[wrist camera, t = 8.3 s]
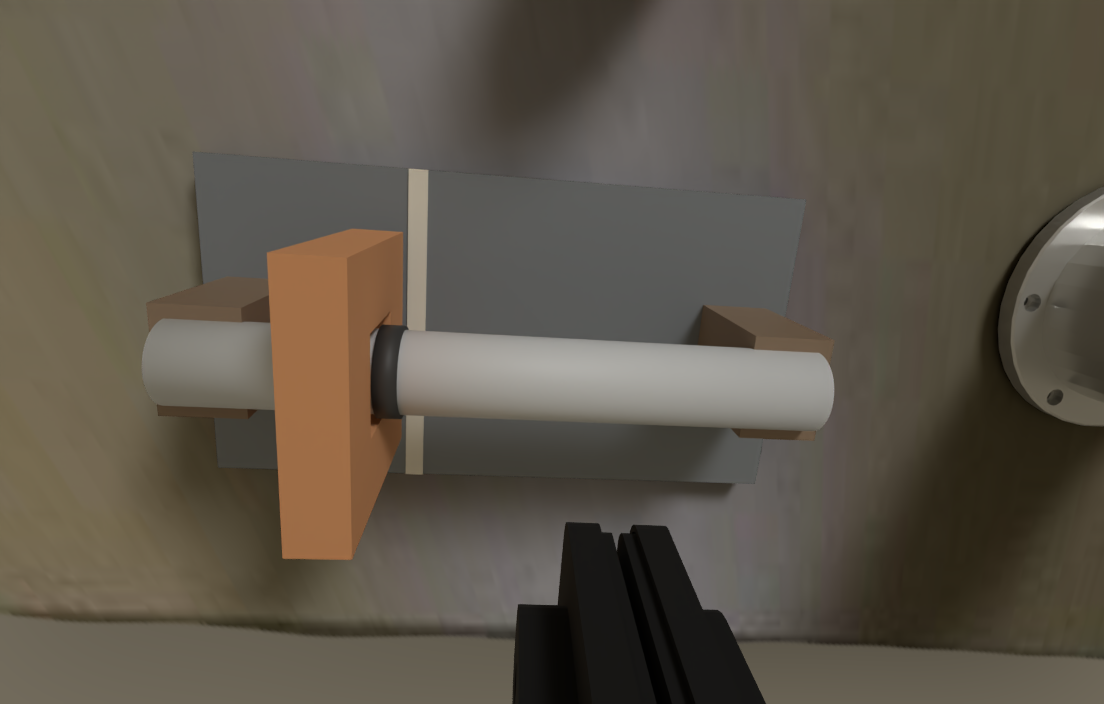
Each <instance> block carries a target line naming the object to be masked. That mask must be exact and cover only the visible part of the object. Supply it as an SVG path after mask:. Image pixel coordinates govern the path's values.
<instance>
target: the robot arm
mask: <svg viewBox="0 0 1104 704" xmlns="http://www.w3.org/2000/svg"><path fill="white" fill-rule="evenodd" d="M998 342H999V352H1000V356H1001V360H1002V363H1003V367H1004V370H1005V372H1006V374H1007V376H1008V378H1009V380H1010V382H1011V383H1012V385H1013V387H1014V388H1015V389H1016V390H1017V391H1018V393H1019V394H1020V395H1021V396H1022V397H1023V398H1024V399H1025V400H1026V401H1027V402H1028V403H1030V404H1031V405H1033V406H1034V407H1036V408H1037V409H1039V410H1040V411H1042V412H1044V413H1047V414H1049V415H1051V416H1054V417H1056V418H1058V419H1060V420H1063V421H1066V422H1070V423H1074V424H1078V425H1082V426H1102V427H1104V187H1102V188H1099V189H1097V190H1095V191H1093V192H1092V193H1090V194H1088V195H1086V196H1084V197H1082V198H1080V199H1078V200H1076V201H1075V202H1074V203H1072V204H1071V205H1070V206H1068V207H1067V208H1066V209H1065V210H1063V211H1062V212H1061V213H1059V214H1058V215H1057V216H1055V217H1054V218H1053V219H1052V220H1051V221H1050V222H1049V223H1048V224H1047V225H1046V226H1045V227H1044V228H1043V229H1042V230H1041V232H1040V233H1039V234H1038V235H1037V236H1036V237H1035V238H1034V240H1033V241H1032V242H1031V244H1030V245H1029V247H1028V248H1027V249H1026V251H1025V252H1024V254H1023V255H1022V256H1021V258H1020V260H1019V262H1018V264H1017V265H1016V267H1015V269H1014V271H1013V273H1012V275H1011V277H1010V279H1009V281H1008V284H1007V288H1006V291H1005V294H1004V297H1003V300H1002V303H1001V308H1000V315H999V323H998ZM513 704H766V703H765V701H764V699H763V697H762V694H761V692H760V690H759V688H758V686H757V684H756V682H755V680H754V678H753V676H752V673H751V671H750V669H749V667H748V665H747V663H746V661H745V659H744V656H743V654H742V652H741V650H740V648H739V646H738V644H737V642H736V639H735V637H734V635H733V633H732V631H731V629H730V627H729V625H728V623H727V620H726V619H725V617H724V616H723V614H722V613H721V612H720V611H718V610H703V609H702V607H701V605H700V602H699V600H698V598H697V595H696V593H695V591H694V588H693V586H692V584H691V581H690V579H689V577H688V574H687V572H686V570H685V567H684V565H683V563H682V560H681V558H680V556H679V553H678V551H677V549H676V546H675V544H674V542H673V539H672V537H671V535H670V532H669V530H668V528H667V527H666V526H652V525H633V526H632V527H631V530H630V534H629V533H621V534H620V536H619V540H618V548H617V551H616V547H615V543H614V539H613V535H612V533H603V532H601V528H600V525H599V524H598V523H574V522H566V524H565V531H564V541H563V552H562V563H561V574H560V585H559V596H558V605H526V604H518V610H517V623H516V637H515V653H514V674H513Z"/></svg>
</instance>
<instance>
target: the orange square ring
mask: <svg viewBox="0 0 1104 704" xmlns="http://www.w3.org/2000/svg"><path fill="white" fill-rule="evenodd" d="M267 266H268V286H269V305H270V325H271V344H272V363H273V383H274V402H275V422H276V441H277V460H278V480H279V499H280V519H281V538H282V558H283V559H336V560H352V558H353V556H354V553H355V551H356V548H357V546H358V544H359V541H360V539H361V536H362V534H363V531H364V529H365V526H366V524H367V521H368V519H369V516H370V514H371V512H372V509H373V507H374V504H375V502H376V499H377V497H378V494H379V492H380V489H381V487H382V484H383V482H384V480H385V477H386V475H387V472H388V470H389V467H390V465H391V462H392V460H393V457H394V455H395V452H396V450H397V447H398V445H399V443H400V440H401V435H402V419H379V418H376V417H375V415H374V414H371V408H370V333H371V332H372V331H373V330H374V329H375V328H380V326H381V325H383V324H384V325H402V311H403V232H395V231H381V230H366V229H349V230H346V231H342V232H338V233H335V234H331V235H328V236H324V237H321V238H317V239H314V240H310V241H306V242H303V243H299V244H296V245H292V246H289V247H285V248H281V249H278V250H274V251H271V252H267Z"/></svg>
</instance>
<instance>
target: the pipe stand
mask: <svg viewBox="0 0 1104 704" xmlns="http://www.w3.org/2000/svg"><path fill="white" fill-rule="evenodd" d="M193 163H194V175H195V188H196V200H197V213H198V225H199V238H200V250H201V262H202V275H203V284H202V285H199V286H196V287H193V288H190V289H187V290H184V291H181V292H178V293H175V294H172V295H169V296H166V297H162V298H159V299H156V300H153V301H150V302H147V303H146V306H147V315H148V325H149V335H148V337H147V340H146V343H145V346H144V350H143V356H142V377H143V382H144V386H145V389H146V391H147V393H148V395H149V397H150V398H151V399H152V401H153V402H155V403H156V404H157V409H158V416H178V417H205V418H214V424H215V437H216V449H217V462H218V467H219V468H251V469H278V460H277V441H276V422H275V402H274V383H273V363H272V344H271V325H270V305H269V286H268V266H267V252H271V251H274V250H278V249H281V248H285V247H289V246H292V245H296V244H299V243H303V242H306V241H310V240H314V239H317V238H321V237H324V236H328V235H331V234H335V233H338V232H342V231H346V230H349V229H366V230H381V231H395V232H403V311H402V325H384V324H383V325H381V326H380V328H375V329H374V330H373V331H372V332H371V333H370V408H371V414H374V415H375V417H376V418H379V419H402V435H401V440H400V443H399V445H398V447H397V450H396V452H395V455H394V457H393V460H392V462H391V465H390V467H389V470H388V472H387V473H406V474H416V475H423V474H448V475H481V476H514V477H547V478H579V479H612V480H645V481H678V482H711V483H743V484H755V481H756V476H757V470H758V465H759V459H760V454H761V448H762V442H763V439H784V440H810V441H814V439H815V434H816V430H819V429H820V428H821V427H823V425H824V424H825V423H826V421H827V420H828V418H829V416H830V413H831V410H832V406H833V400H834V381H833V375H832V371H831V368H830V361H831V356H832V351H833V346H834V340H832V339H830V338H828V337H826V336H824V335H822V334H819V333H817V332H815V331H813V330H811V329H809V328H807V327H804V326H802V325H800V324H798V323H796V322H794V321H792V320H789V319H787V318H785V315H786V309H787V304H788V298H789V293H790V287H791V282H792V276H793V270H794V265H795V259H796V254H797V248H798V243H799V237H800V232H801V226H802V221H803V215H804V209H805V204H806V200H804V199H791V198H779V197H766V196H753V195H740V194H727V193H715V192H702V191H689V190H676V189H663V188H651V187H638V186H625V185H612V184H599V183H587V182H574V181H561V180H548V179H535V178H523V177H510V176H497V175H484V174H471V173H459V172H446V171H433V170H421V169H408V168H395V167H382V166H369V165H356V164H344V163H331V162H318V161H305V160H292V159H280V158H267V157H254V156H241V155H228V154H216V153H203V152H193Z"/></svg>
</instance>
